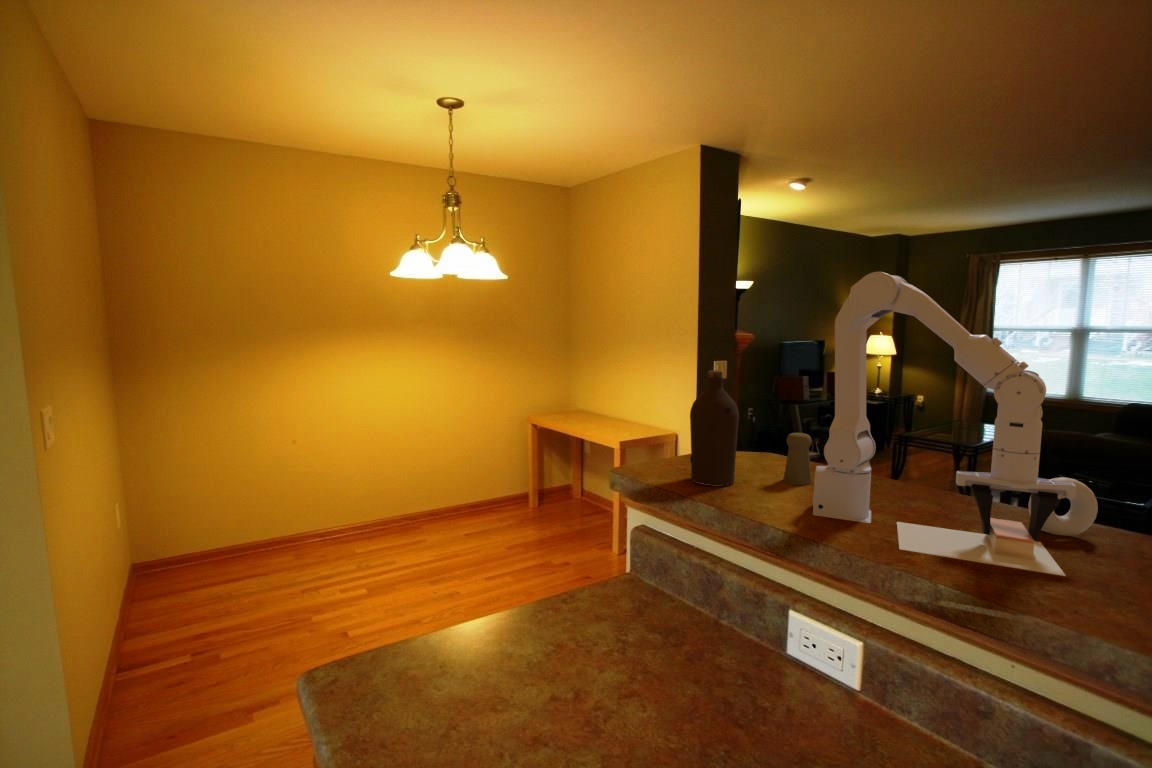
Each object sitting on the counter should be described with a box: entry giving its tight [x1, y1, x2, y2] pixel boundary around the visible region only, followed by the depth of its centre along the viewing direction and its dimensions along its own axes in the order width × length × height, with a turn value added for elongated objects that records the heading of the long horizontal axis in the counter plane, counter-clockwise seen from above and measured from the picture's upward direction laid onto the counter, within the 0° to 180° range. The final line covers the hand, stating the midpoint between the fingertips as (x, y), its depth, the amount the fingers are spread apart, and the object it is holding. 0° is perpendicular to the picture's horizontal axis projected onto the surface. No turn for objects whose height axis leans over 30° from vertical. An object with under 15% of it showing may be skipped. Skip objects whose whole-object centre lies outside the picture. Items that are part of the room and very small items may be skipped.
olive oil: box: [689, 370, 740, 485], centre depth 126 cm, size 11×11×25 cm
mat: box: [896, 521, 1067, 577], centre depth 89 cm, size 20×14×1 cm
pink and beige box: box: [986, 517, 1034, 560], centre depth 88 cm, size 9×4×3 cm, turn 152°
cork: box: [782, 432, 813, 486], centre depth 127 cm, size 6×6×11 cm
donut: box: [1027, 476, 1099, 537], centre depth 94 cm, size 10×4×10 cm, turn 84°
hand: (1008, 535), depth 88 cm, fingers open, 5 cm apart
